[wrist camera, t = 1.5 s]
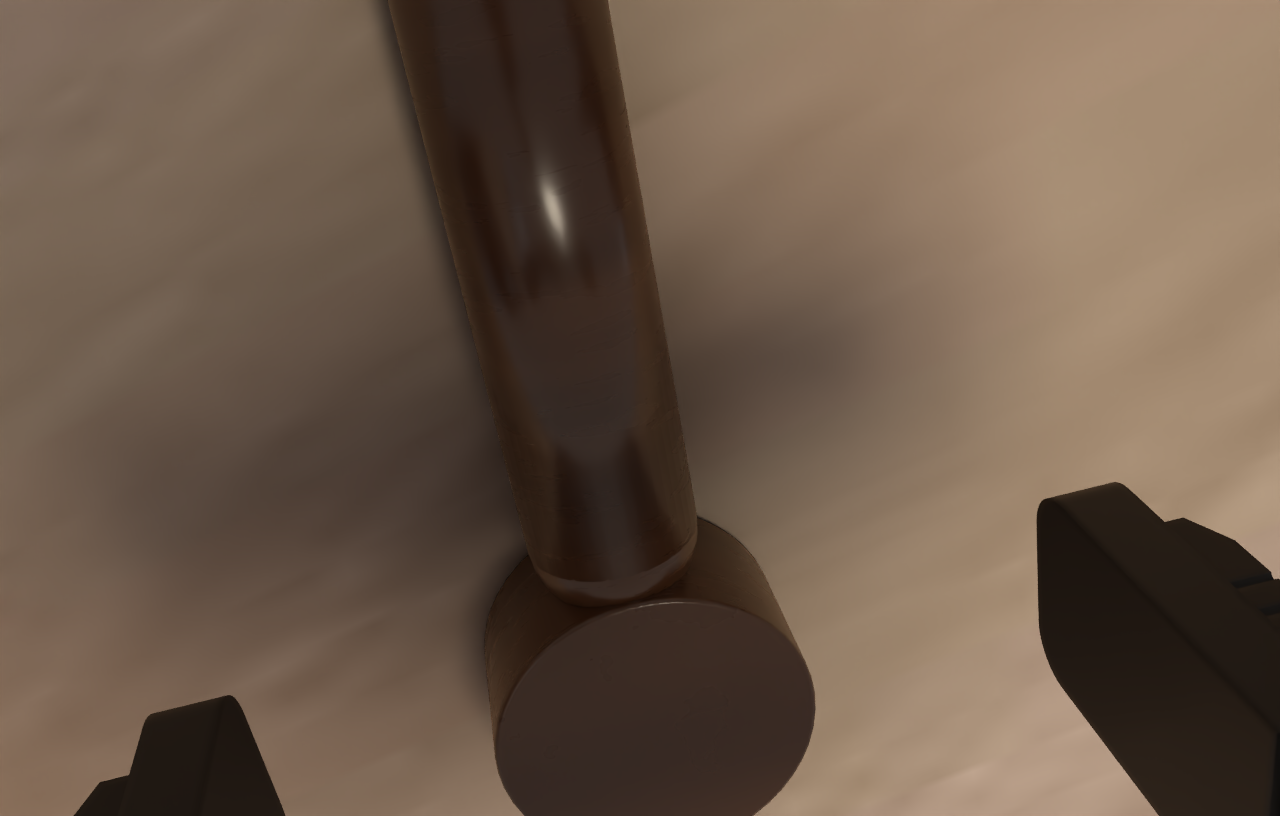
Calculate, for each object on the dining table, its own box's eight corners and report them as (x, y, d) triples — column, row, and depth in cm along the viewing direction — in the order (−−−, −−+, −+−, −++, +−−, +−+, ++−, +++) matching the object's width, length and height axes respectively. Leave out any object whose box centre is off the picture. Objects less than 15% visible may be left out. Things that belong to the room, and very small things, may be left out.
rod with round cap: (239, -190, 15) (209, -188, 12) (646, -266, 15) (690, -277, 13) (518, 776, 22) (532, 890, 20) (786, 708, 22) (831, 812, 20)
